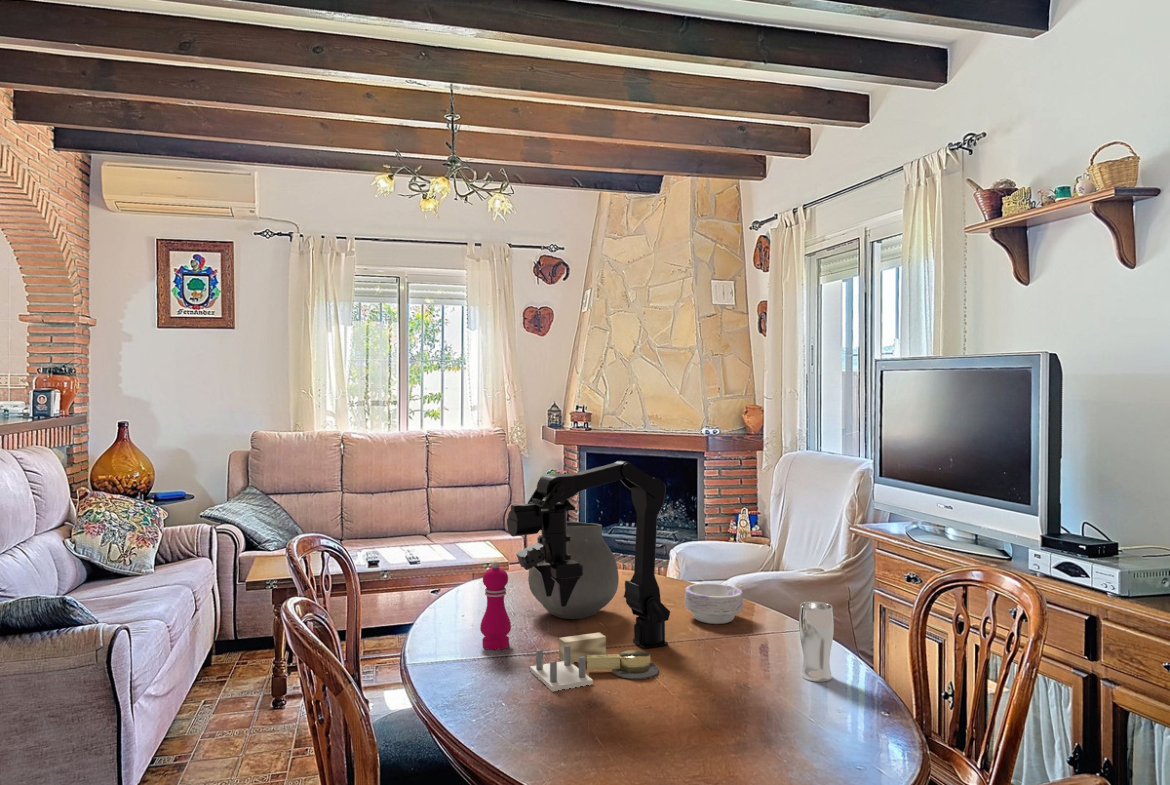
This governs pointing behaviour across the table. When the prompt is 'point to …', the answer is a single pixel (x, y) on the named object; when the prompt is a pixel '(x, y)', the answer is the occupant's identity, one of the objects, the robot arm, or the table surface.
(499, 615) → the pepper mill
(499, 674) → the table surface
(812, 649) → the beer glass
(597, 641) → the beech bar
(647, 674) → the base
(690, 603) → the paper bowls
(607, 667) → the brass lever handle
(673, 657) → the table surface
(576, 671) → the peg rack
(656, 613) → the robot arm
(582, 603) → the ceramic pot
